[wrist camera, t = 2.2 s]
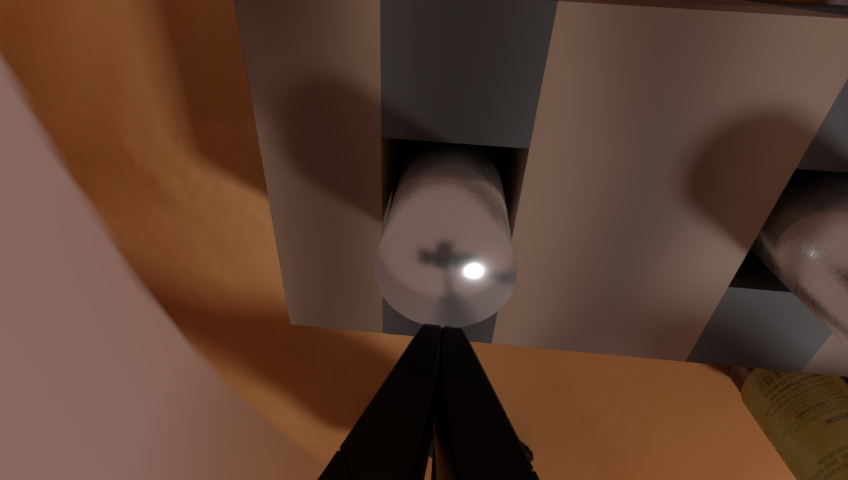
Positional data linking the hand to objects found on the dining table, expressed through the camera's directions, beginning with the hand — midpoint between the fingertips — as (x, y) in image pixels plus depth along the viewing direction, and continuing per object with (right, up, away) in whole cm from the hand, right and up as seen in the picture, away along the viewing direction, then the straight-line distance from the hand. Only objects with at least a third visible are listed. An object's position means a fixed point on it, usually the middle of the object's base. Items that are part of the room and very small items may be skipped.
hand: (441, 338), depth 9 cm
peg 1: (+1, +5, +8) cm, 9 cm away
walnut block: (+7, +7, +10) cm, 14 cm away
